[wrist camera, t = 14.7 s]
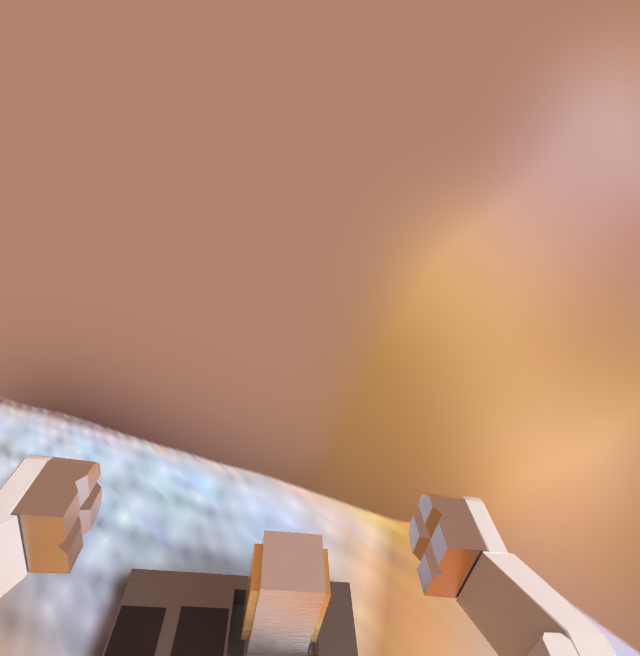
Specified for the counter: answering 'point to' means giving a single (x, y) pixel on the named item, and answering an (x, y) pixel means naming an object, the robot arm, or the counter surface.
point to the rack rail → (205, 616)
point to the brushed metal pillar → (285, 594)
